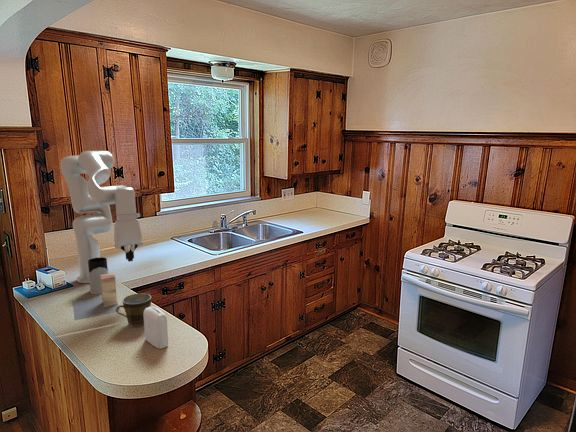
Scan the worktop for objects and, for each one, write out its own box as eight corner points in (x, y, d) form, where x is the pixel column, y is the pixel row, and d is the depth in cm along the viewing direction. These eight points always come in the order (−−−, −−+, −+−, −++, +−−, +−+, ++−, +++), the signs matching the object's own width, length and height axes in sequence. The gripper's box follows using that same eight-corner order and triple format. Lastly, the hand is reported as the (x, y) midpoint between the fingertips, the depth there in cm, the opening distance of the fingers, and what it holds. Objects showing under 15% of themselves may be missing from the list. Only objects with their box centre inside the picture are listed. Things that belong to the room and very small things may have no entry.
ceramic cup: (143, 315, 150) (142, 291, 148) (158, 322, 144) (156, 297, 142) (111, 327, 140) (109, 301, 138) (125, 336, 134) (123, 309, 132)
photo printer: (143, 339, 132) (140, 306, 129) (154, 335, 135) (152, 302, 132) (158, 350, 125) (156, 315, 123) (170, 345, 128) (168, 311, 126)
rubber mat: (72, 302, 161) (72, 301, 161) (114, 295, 169) (114, 293, 169) (74, 321, 144) (74, 320, 144) (120, 312, 152) (120, 310, 152)
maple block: (102, 302, 160) (100, 275, 158) (115, 300, 163) (113, 273, 160) (103, 306, 156) (101, 278, 154) (117, 304, 158) (115, 276, 156)
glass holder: (90, 297, 167) (87, 264, 164) (86, 286, 178) (83, 255, 176) (112, 293, 172) (109, 260, 169) (107, 283, 183) (104, 253, 180)
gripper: (144, 214, 164) (147, 255, 167) (105, 217, 156) (109, 261, 159) (147, 217, 157) (150, 260, 161) (107, 220, 150) (111, 265, 153)
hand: (130, 260), depth 160 cm, fingers closed
